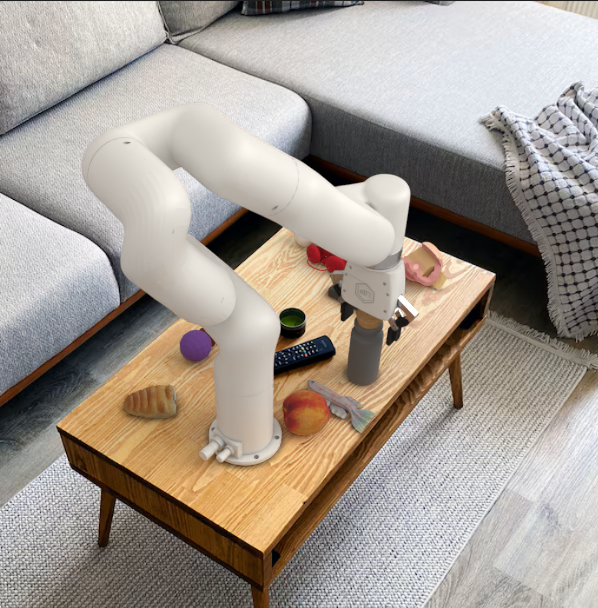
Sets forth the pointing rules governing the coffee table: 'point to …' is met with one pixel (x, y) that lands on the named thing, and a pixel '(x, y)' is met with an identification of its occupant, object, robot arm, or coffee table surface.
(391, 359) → the coffee table surface
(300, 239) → the egg
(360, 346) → the bottle
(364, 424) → the fish
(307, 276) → the coffee table surface
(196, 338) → the kendama
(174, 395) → the pastry
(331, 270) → the alarm clock
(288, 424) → the fruit
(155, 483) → the coffee table surface
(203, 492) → the coffee table surface
